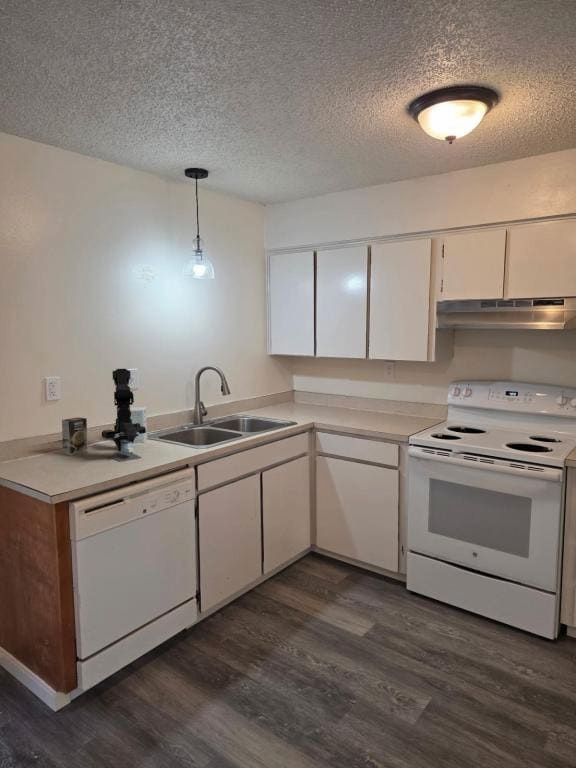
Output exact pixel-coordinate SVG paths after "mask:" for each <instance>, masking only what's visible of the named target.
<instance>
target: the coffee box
mask: <svg viewBox="0 0 576 768" xmlns="http://www.w3.org/2000/svg"><path fill="white" fill-rule="evenodd" d="M87 419H88V418H86V417H72V418H66V419H62V420H61V437H62V454H63V455H67V456H76V455H79V454H83V453H87V452H88V449H89V448H88V423H87V422H88V421H87Z"/></svg>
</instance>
